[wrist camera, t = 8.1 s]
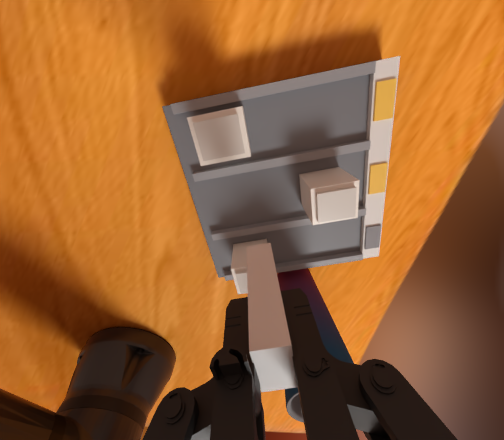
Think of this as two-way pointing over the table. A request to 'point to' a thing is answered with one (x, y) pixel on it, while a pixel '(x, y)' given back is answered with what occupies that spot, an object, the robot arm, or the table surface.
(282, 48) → the table surface
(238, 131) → the tab
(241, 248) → the tab
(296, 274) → the cup
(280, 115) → the switch bank
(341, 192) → the tab middle
